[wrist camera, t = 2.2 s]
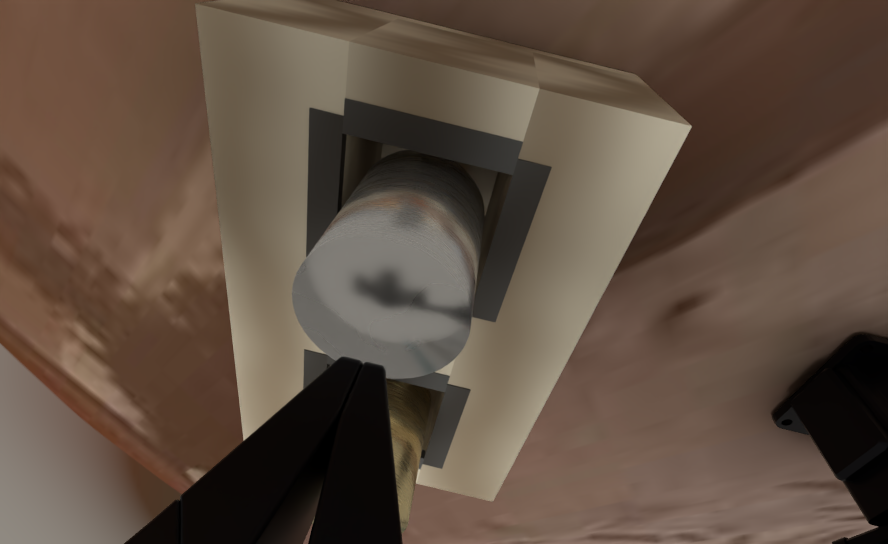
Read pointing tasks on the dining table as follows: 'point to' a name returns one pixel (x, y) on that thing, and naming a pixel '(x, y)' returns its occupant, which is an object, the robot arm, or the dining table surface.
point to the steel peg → (396, 268)
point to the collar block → (442, 135)
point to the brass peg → (407, 438)
